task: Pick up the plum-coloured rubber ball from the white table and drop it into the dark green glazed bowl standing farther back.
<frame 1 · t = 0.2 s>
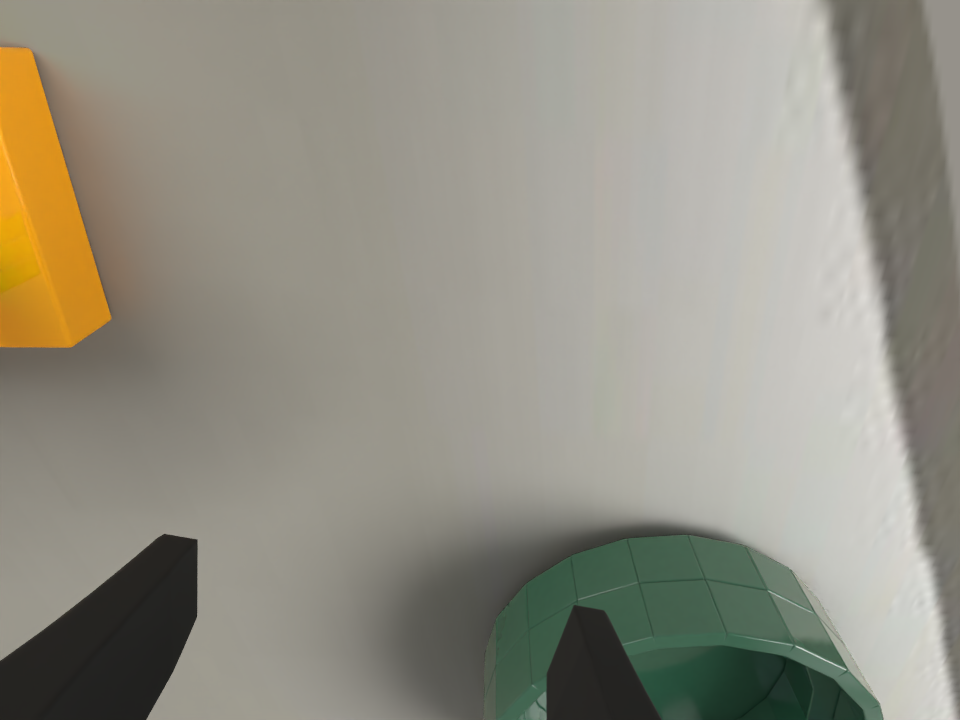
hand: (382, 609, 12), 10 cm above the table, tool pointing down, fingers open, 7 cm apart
bowl: (649, 650, 27), on the table
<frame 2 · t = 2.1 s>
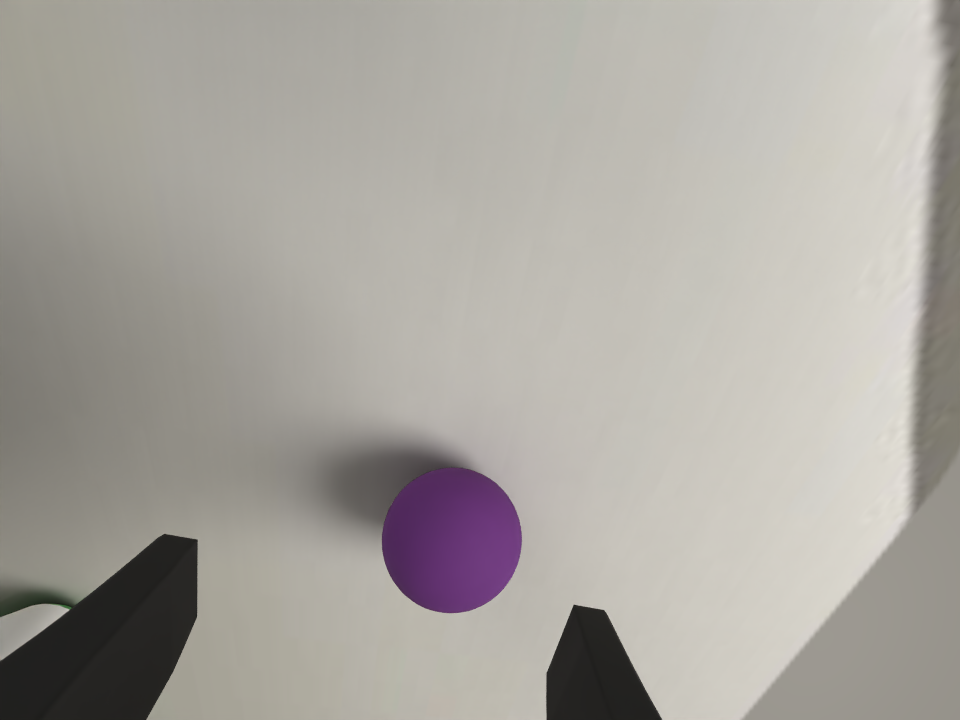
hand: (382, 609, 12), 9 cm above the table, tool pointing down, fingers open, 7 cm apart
ball: (452, 538, 19), point 2 cm above the table
cup: (67, 645, 26), on the table
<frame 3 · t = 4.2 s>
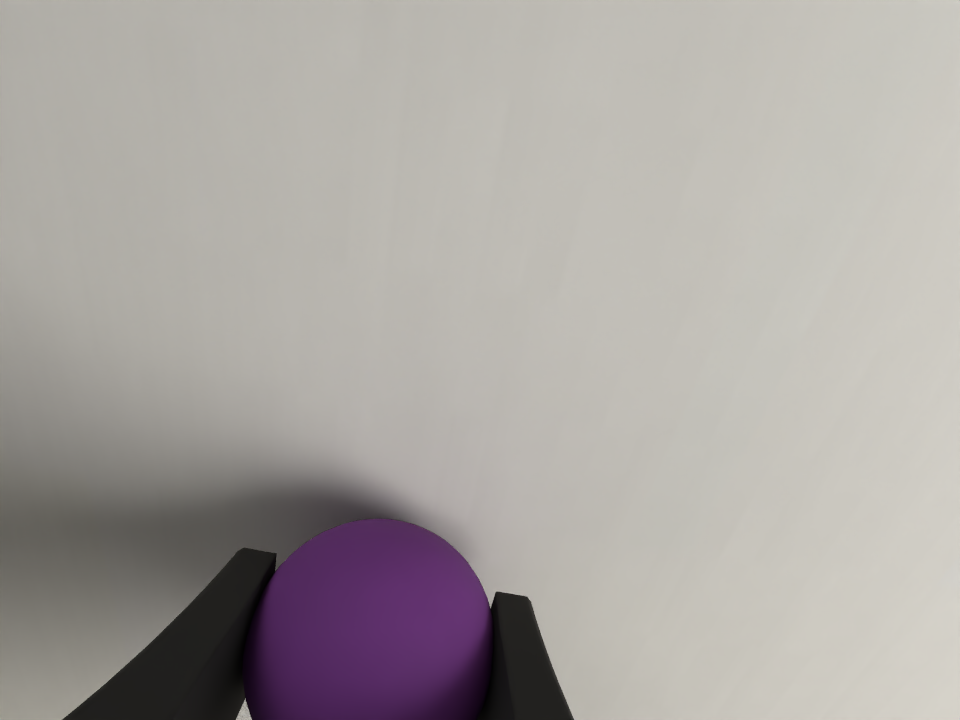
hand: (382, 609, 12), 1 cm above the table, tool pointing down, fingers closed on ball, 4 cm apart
ball: (373, 644, 11), point 2 cm above the table, touching gripper
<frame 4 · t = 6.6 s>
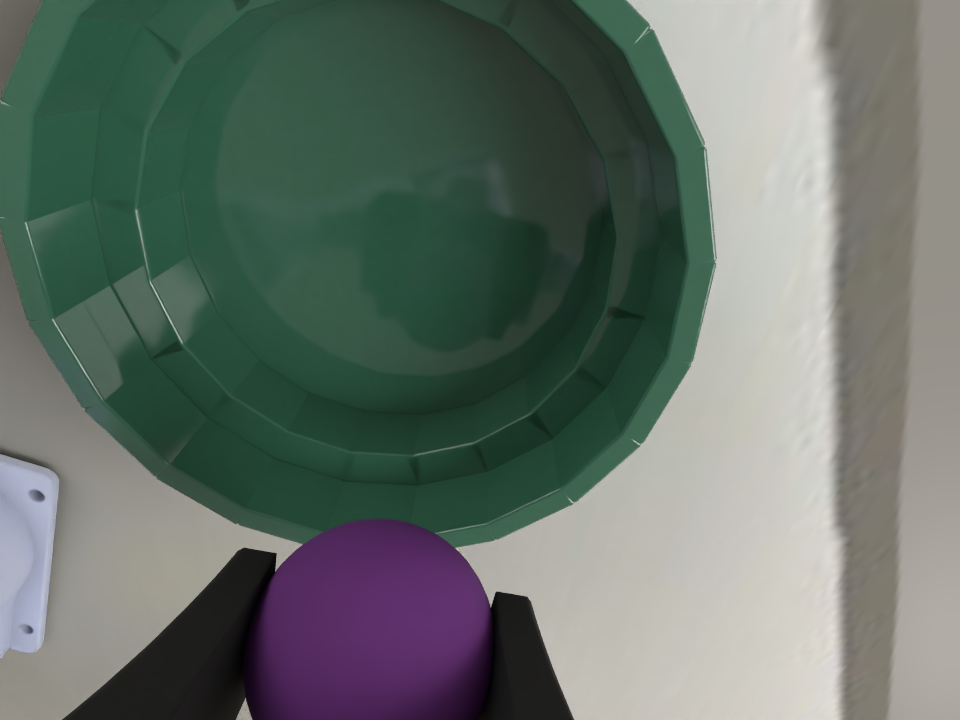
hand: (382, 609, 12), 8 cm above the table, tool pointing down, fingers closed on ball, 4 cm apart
bowl: (395, 230, 17), on the table
ball: (373, 644, 11), point 9 cm above the table, touching gripper
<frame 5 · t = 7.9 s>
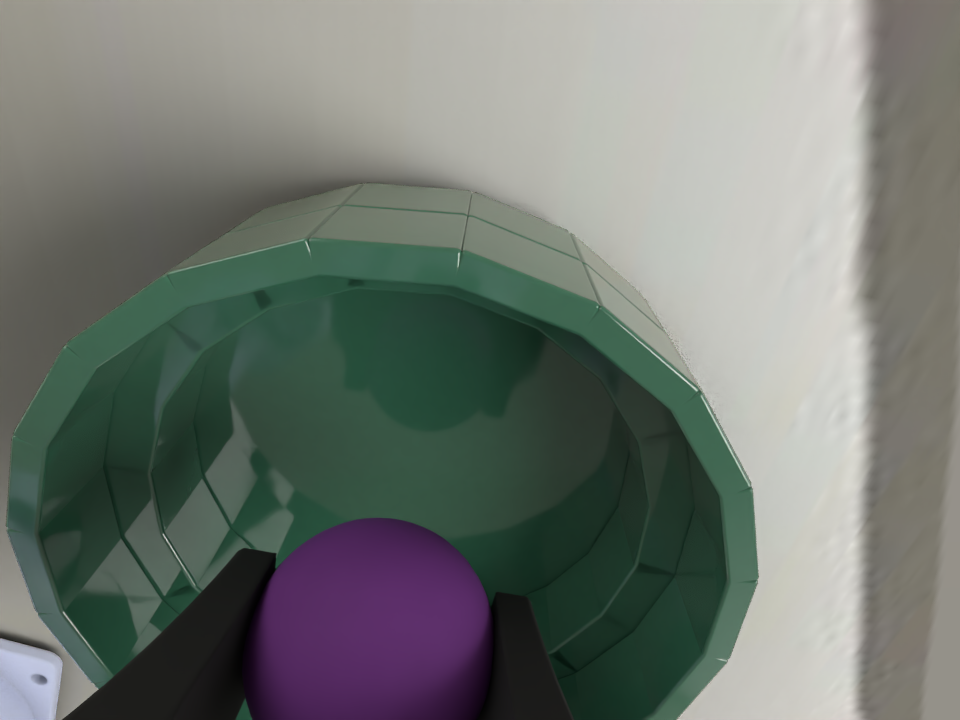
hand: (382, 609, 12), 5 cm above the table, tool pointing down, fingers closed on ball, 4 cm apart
bowl: (414, 450, 16), on the table
ball: (373, 643, 11), point 6 cm above the table, touching gripper
when the fingers open (2 cm above the table, at t = 9.2 s): ball stays where it is, resting on bowl.
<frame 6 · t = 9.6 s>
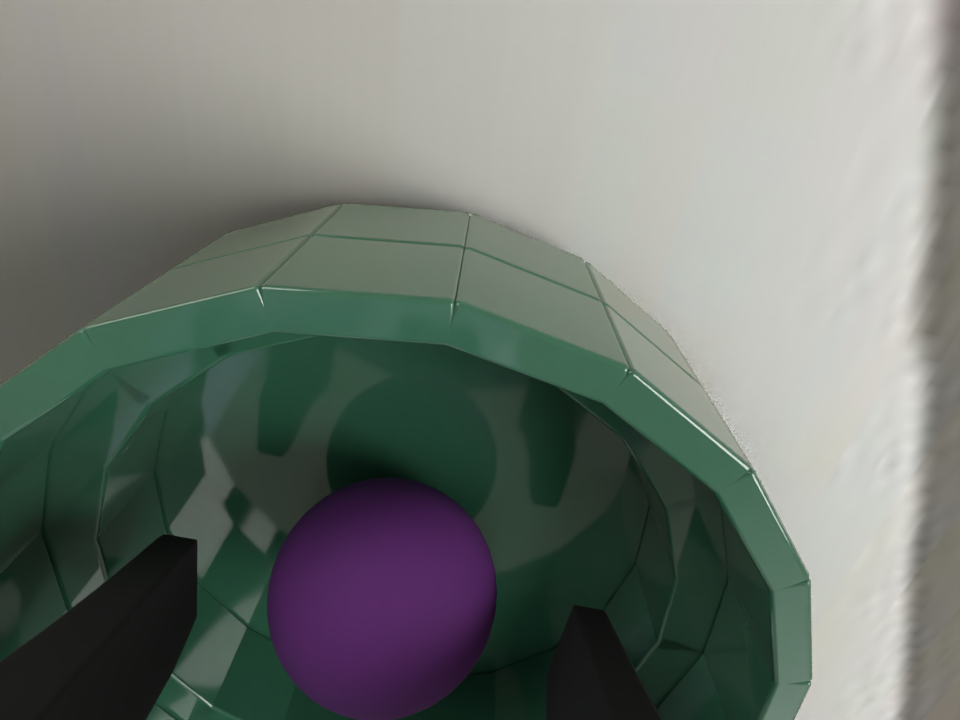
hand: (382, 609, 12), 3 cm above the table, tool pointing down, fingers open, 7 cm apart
bowl: (406, 500, 15), on the table
ball: (385, 591, 12), point 3 cm above the table, touching bowl
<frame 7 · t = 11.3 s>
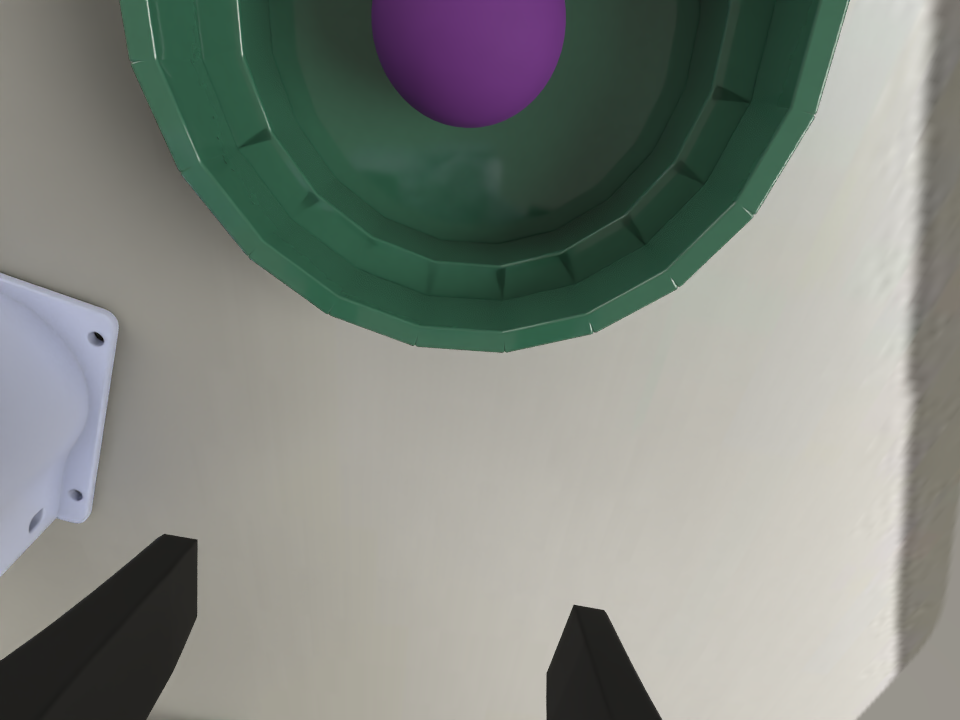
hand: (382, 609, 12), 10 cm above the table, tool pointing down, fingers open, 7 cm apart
bowl: (482, 35, 17), on the table
ball: (468, 25, 14), point 3 cm above the table, tilted 7°, touching bowl
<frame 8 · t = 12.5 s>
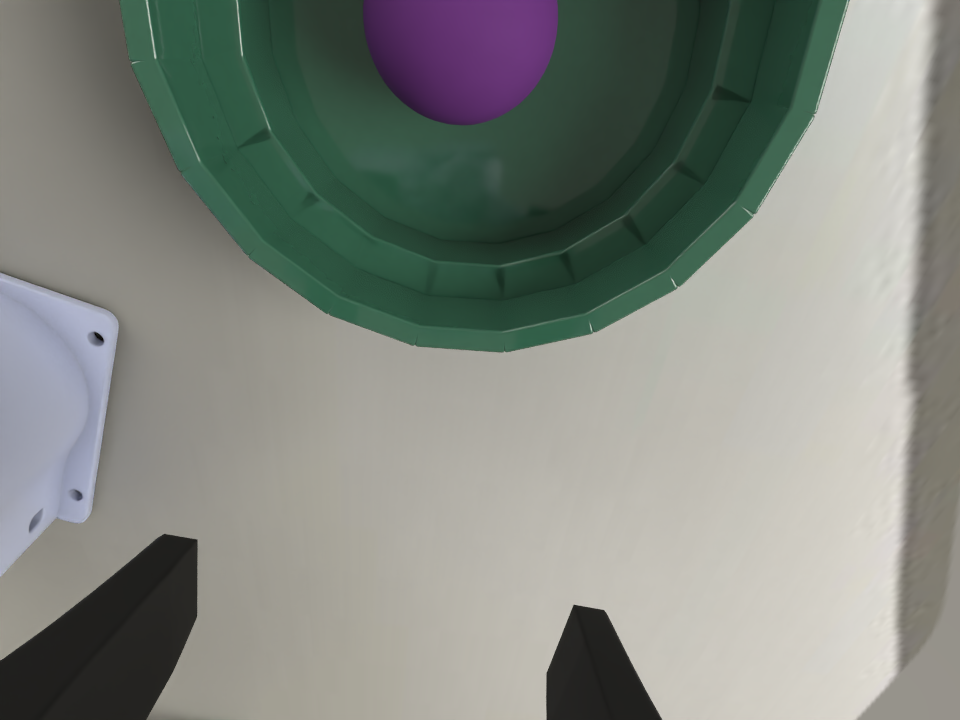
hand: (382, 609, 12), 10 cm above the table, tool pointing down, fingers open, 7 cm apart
bowl: (482, 34, 17), on the table
ball: (461, 22, 14), point 3 cm above the table, tilted 12°, touching bowl
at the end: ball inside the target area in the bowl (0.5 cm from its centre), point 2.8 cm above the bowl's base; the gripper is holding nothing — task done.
